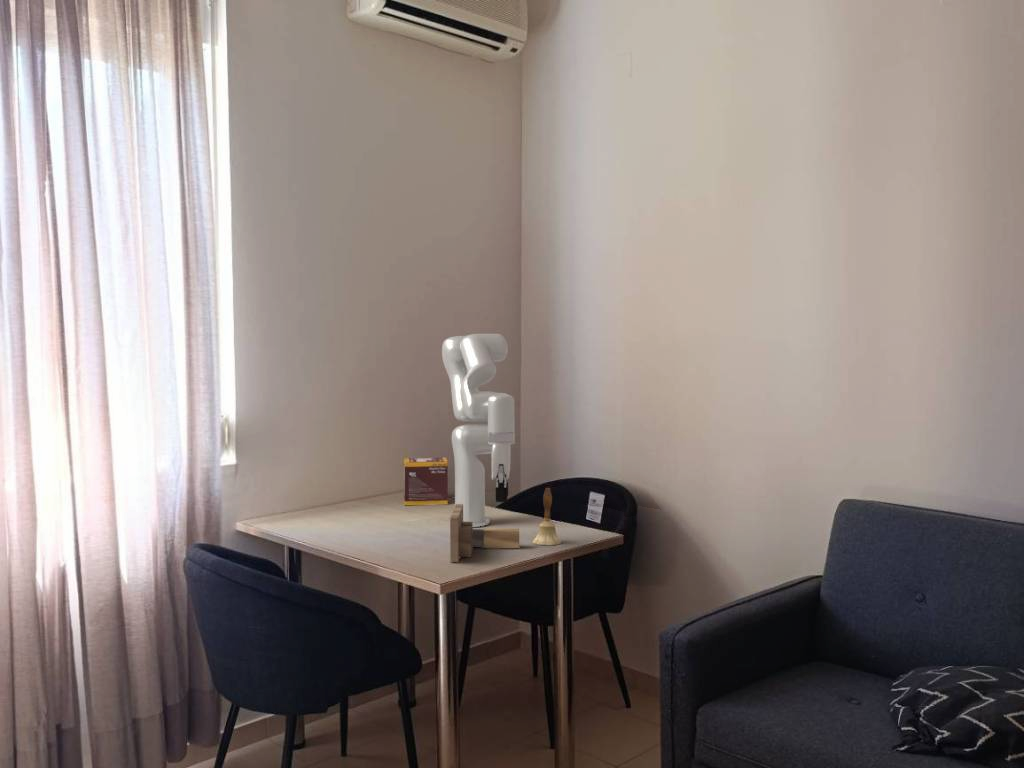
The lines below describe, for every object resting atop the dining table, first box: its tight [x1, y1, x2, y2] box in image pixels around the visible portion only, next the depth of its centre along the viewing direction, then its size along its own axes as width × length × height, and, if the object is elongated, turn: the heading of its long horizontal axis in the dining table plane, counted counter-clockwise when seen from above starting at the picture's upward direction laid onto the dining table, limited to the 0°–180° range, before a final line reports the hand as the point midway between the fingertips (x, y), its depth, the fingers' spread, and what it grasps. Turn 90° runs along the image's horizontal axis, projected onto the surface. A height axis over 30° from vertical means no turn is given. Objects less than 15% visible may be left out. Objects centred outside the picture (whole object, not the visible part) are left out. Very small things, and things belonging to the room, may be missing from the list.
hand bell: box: [532, 487, 562, 547], centre depth 272 cm, size 8×8×16 cm
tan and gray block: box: [473, 528, 520, 549], centre depth 267 cm, size 4×14×5 cm, turn 89°
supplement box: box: [403, 456, 449, 506], centre depth 335 cm, size 10×15×16 cm
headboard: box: [449, 504, 474, 563], centre depth 259 cm, size 20×5×12 cm, turn 179°
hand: (502, 499), depth 265 cm, fingers open, 9 cm apart
